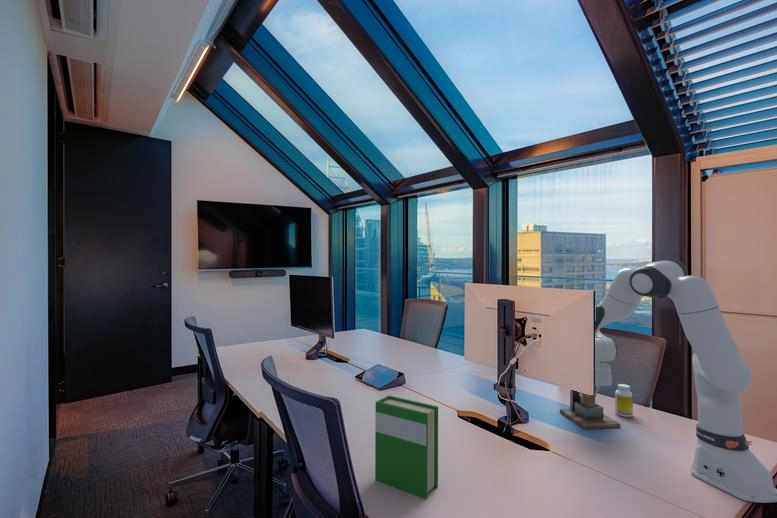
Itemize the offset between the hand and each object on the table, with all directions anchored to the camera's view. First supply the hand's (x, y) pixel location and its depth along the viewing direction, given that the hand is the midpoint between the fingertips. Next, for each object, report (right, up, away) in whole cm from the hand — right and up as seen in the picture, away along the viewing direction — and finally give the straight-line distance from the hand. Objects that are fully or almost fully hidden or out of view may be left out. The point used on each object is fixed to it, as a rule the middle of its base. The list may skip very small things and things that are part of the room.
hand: (587, 396), depth 172 cm
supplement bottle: (+19, -10, +6) cm, 22 cm away
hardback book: (-80, -9, -50) cm, 95 cm away
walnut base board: (0, -10, 0) cm, 10 cm away
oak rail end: (0, -5, 0) cm, 5 cm away
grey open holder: (0, -9, +2) cm, 9 cm away
